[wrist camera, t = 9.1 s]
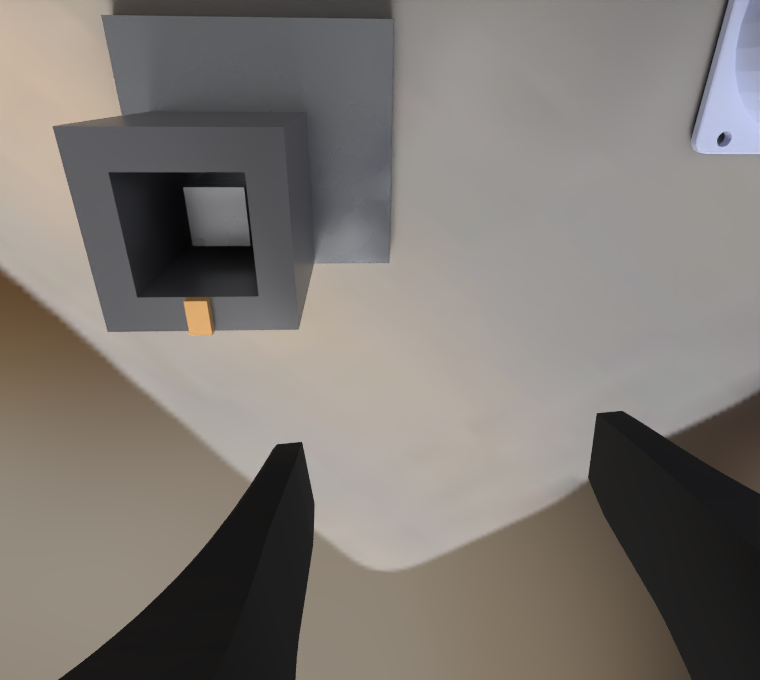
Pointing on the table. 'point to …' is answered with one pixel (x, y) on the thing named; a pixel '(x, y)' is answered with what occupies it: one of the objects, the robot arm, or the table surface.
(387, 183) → the plate
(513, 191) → the table surface
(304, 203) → the hollow square housing
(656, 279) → the table surface
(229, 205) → the grey square post
